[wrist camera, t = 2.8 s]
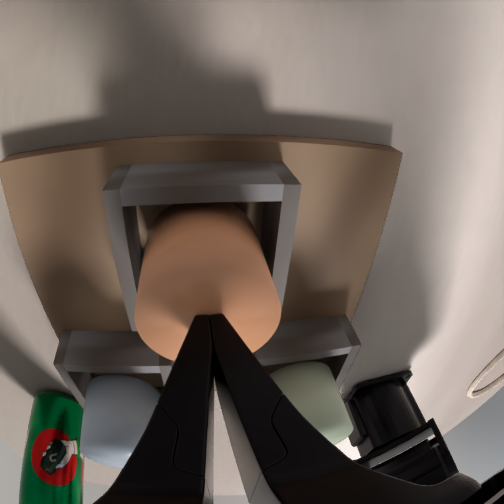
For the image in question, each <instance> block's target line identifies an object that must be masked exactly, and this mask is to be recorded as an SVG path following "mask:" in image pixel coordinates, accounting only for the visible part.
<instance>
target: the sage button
mask: <svg viewBox="0 0 504 504" xmlns="http://www.w3.org/2000/svg"><path fill="white" fill-rule="evenodd" d="M270 376H271V378H272V379H273V380H274V381H275V383H276V384H277V385H278V387H279V388H280V389H281V390H282V392H283V394H285V395H286V396H287V398H288V399H289V400H290V401H291V403H292V404H293V405H294V406H295V407H296V409H297V410H298V411H299V412H300V413H301V414H302V415H303V416H304V417H305V418H306V419H307V420H308V421H309V422H310V423H311V424H312V425H313V426H314V427H315V428H316V429H317V430H318V431H319V432H320V433H321V434H322V435H323V436H325V437H326V438H327V439H328V440H329V441H330V442H331V443H332V444H333V445H335V444H337V443H339V442H341V441H342V440H344V439H345V438H347V437H348V436H349V435H350V434H351V433H352V431H353V426H352V423H351V420H350V418H349V415H348V413H347V410H346V408H345V405H344V402H343V400H342V397H341V395H340V392H339V390H338V387H337V385H336V382H335V380H334V377H333V375H332V372H331V370H330V368H329V367H328V366H327V365H326V364H324V363H321V362H315V361H307V362H300V363H295V364H291V365H288V366H285V367H283V368H280V369H278V370H276V371H274V372H273V373H271V374H270Z"/></svg>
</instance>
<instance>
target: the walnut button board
mask: <svg viewBox="0 0 504 504" xmlns="http://www.w3.org/2000/svg"><path fill="white" fill-rule="evenodd" d="M402 154H403V153H401V152H400V151H398V150H396V149H395V148H393V147H391V146H385V145H377V144H369V143H361V142H352V141H343V140H332V139H320V138H307V137H291V136H270V135H178V136H157V137H141V138H128V139H117V140H107V141H97V142H89V143H81V144H73V145H66V146H59V147H53V148H46V149H40V150H35V151H29V152H24V153H19V154H14V155H9V156H7V157H6V158H4V159H3V160H2V161H0V176H1V181H2V186H3V190H4V194H5V198H6V202H7V206H8V209H9V213H10V217H11V220H12V224H13V227H14V230H15V233H16V237H17V240H18V243H19V246H20V249H21V252H22V255H23V258H24V260H25V263H26V266H27V268H28V271H29V274H30V276H31V279H32V281H33V284H34V286H35V289H36V291H37V294H38V296H39V298H40V301H41V303H42V305H43V308H44V310H45V312H46V314H47V316H48V319H49V321H50V323H51V325H52V327H53V329H54V331H55V333H56V335H57V337H58V339H59V345H58V348H57V352H56V356H55V359H54V363H53V364H54V366H55V367H56V369H57V371H58V372H59V374H60V375H61V377H62V379H63V380H64V382H65V383H66V385H67V386H68V388H69V389H70V391H71V392H72V394H73V395H74V397H75V398H76V399H77V401H78V402H79V404H80V405H81V406H82V408H83V409H84V404H85V397H86V390H87V385H88V383H89V381H90V380H91V379H93V378H95V377H97V376H100V375H107V374H120V375H127V376H131V377H135V378H138V379H141V380H144V381H146V382H148V383H150V384H151V385H153V386H154V387H155V388H156V389H157V390H158V391H159V392H160V394H161V392H162V390H163V388H164V385H165V383H166V380H167V378H168V376H169V373H170V371H171V369H172V366H173V364H174V362H175V361H173V360H170V359H168V358H165V357H163V356H161V355H160V354H158V353H156V352H155V351H154V350H152V349H151V348H150V347H149V346H148V345H147V344H146V343H145V342H144V341H143V340H142V338H141V337H140V335H139V333H138V331H137V328H136V325H135V320H134V313H135V305H136V298H137V292H138V285H139V279H140V273H141V267H142V261H143V255H144V250H145V245H146V239H147V235H148V231H149V229H150V227H151V225H152V223H153V222H154V220H155V219H156V218H157V216H158V215H159V214H160V213H161V212H162V211H163V210H165V209H166V208H167V207H169V206H170V205H172V204H181V203H209V202H229V203H231V204H233V205H235V206H236V207H238V208H239V209H240V210H242V211H243V212H244V213H245V214H246V215H247V216H248V218H249V219H250V221H251V222H252V224H253V226H254V229H255V232H256V234H257V237H258V240H259V243H260V246H261V249H262V251H263V254H264V257H265V260H266V263H267V266H268V268H269V271H270V274H271V277H272V280H273V283H274V286H275V288H276V291H277V294H278V297H279V300H280V304H281V318H280V322H279V325H278V327H277V329H276V331H275V332H274V334H273V335H272V337H271V338H270V339H269V340H268V341H267V342H266V343H265V344H264V345H263V346H262V347H260V348H259V349H258V350H256V351H255V352H253V354H254V356H255V357H256V358H257V360H258V361H259V362H260V363H261V365H262V366H263V367H264V369H265V370H266V371H267V373H268V374H269V375H270V374H271V373H273V372H274V371H276V370H278V369H280V368H283V367H285V366H288V365H291V364H295V363H300V362H307V361H315V362H321V363H324V364H326V365H327V366H328V367H329V368H330V370H331V372H332V375H333V377H334V380H335V382H336V385H337V387H338V390H339V389H340V387H341V385H342V383H343V381H344V379H345V377H346V375H347V373H348V371H349V369H350V367H351V365H352V363H353V361H354V359H355V357H356V355H357V353H358V351H359V349H360V347H361V343H360V341H359V339H358V337H357V335H356V333H355V331H354V329H353V327H352V325H351V321H352V319H353V316H354V314H355V311H356V308H357V306H358V303H359V300H360V297H361V295H362V292H363V289H364V286H365V283H366V280H367V278H368V275H369V272H370V269H371V266H372V263H373V260H374V256H375V253H376V250H377V247H378V244H379V241H380V237H381V234H382V231H383V227H384V224H385V220H386V217H387V213H388V210H389V206H390V202H391V199H392V195H393V191H394V187H395V183H396V179H397V175H398V171H399V167H400V163H401V158H402ZM214 391H217V390H216V386H215V380H214Z"/></svg>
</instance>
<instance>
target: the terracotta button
mask: <svg viewBox="0 0 504 504" xmlns="http://www.w3.org/2000/svg"><path fill="white" fill-rule="evenodd" d="M219 313H222V314H224V315H225V317H226V318H227V319H228V321H229V322H230V323H231V325H232V326H233V327H234V329H235V330H236V332H237V333H238V334H239V336H240V337H241V338H242V340H243V341H244V342H245V344H246V345H247V346H248V348H249V349H250V350H251V352H252V353H253V352H255V351H256V350H258V349H259V348H260V347H262V346H263V345H264V344H265V343H266V342H267V341H268V340H269V339H270V338H271V337H272V335H273V334H274V332H275V331H276V329H277V327H278V325H279V322H280V318H281V304H280V300H279V297H278V294H277V291H276V288H275V286H274V283H273V280H272V277H271V274H270V271H269V268H268V266H267V263H266V260H265V257H264V254H263V251H262V249H261V246H260V243H259V240H258V237H257V234H256V232H255V229H254V226H253V224H252V222H251V221H250V219H249V218H248V216H247V215H246V214H245V213H244V212H243V211H242V210H240V209H239V208H238V207H236V206H235V205H233V204H231V203H229V202H209V203H181V204H172V205H170V206H169V207H167V208H166V209H165V210H163V211H162V212H161V213H160V214H159V215H158V216H157V218H156V219H155V220H154V222H153V223H152V225H151V227H150V229H149V231H148V235H147V239H146V245H145V250H144V255H143V261H142V267H141V273H140V279H139V285H138V292H137V298H136V305H135V313H134V320H135V325H136V328H137V331H138V333H139V335H140V337H141V338H142V340H143V341H144V342H145V343H146V344H147V345H148V346H149V347H150V348H151V349H152V350H154V351H155V352H156V353H158V354H160V355H161V356H163V357H165V358H168V359H170V360H173V361H175V359H176V357H177V355H178V352H179V350H180V348H181V346H182V343H183V341H184V339H185V336H186V334H187V332H188V330H189V327H190V325H191V323H192V320H193V318H194V316H195V315H201V314H208V315H209V316H210V314H219Z"/></svg>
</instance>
